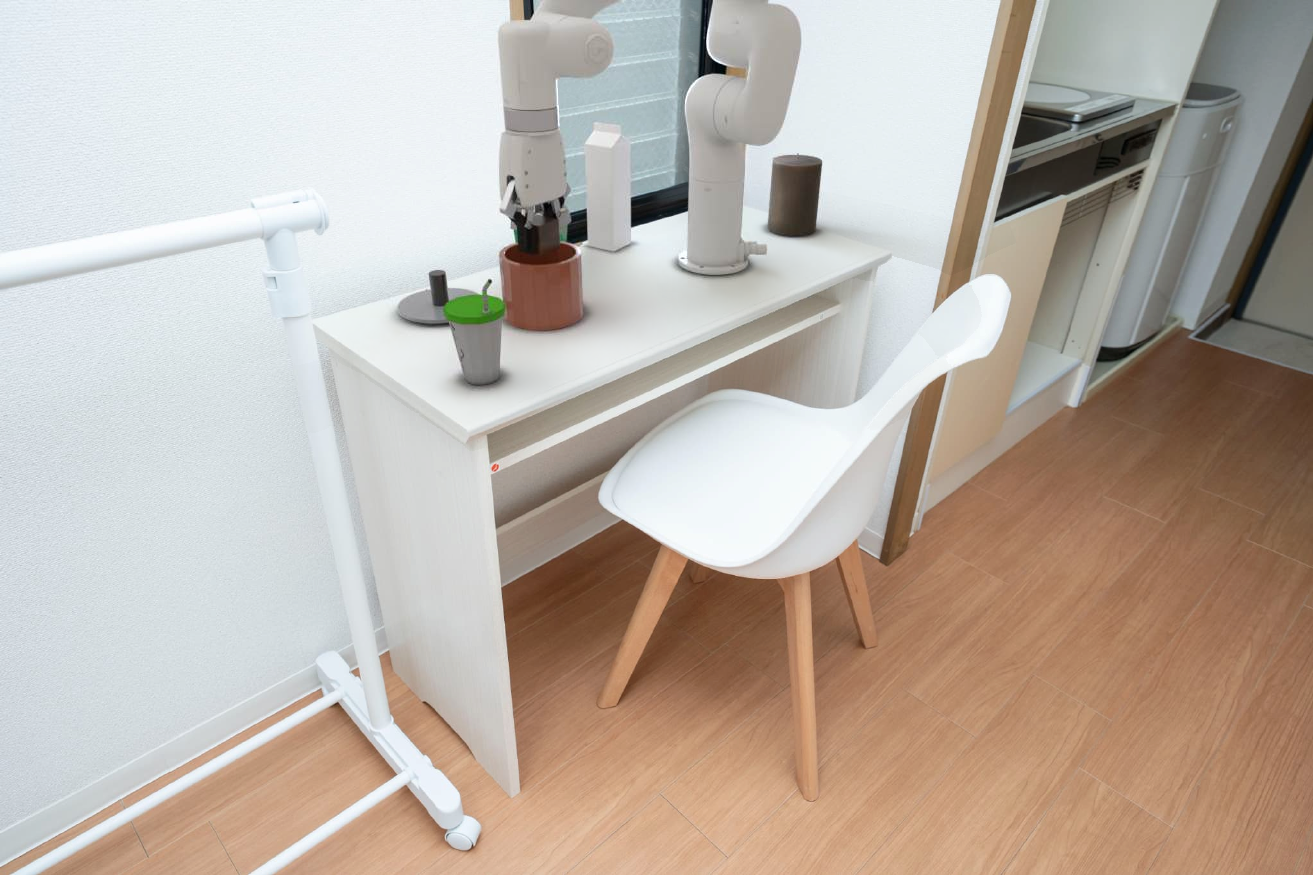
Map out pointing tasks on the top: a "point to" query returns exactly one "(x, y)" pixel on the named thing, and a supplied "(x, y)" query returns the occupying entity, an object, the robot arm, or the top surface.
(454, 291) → the lid
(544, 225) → the block
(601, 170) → the milk
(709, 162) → the robot arm
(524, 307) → the canister
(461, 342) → the cup
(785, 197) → the pillar candle
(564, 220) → the food container
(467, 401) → the top surface
